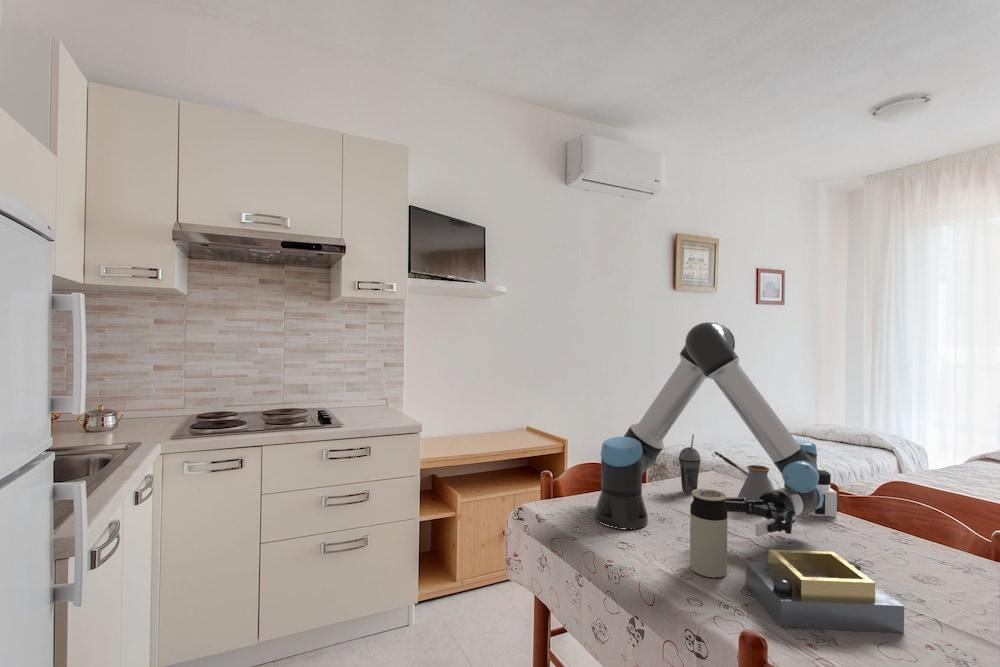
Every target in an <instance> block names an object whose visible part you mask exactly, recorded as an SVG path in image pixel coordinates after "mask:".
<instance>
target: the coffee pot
mask: <svg viewBox="0 0 1000 667" xmlns="http://www.w3.org/2000/svg"><path fill="white" fill-rule="evenodd" d="M714 454H715V455H714ZM716 456H718V457H719V458H720V459H722V460H723V461H724V462H726V463H727V464H729V465H731V466H732V467H734V468H735V469H737V470H739V471H740V472H741V473H743V474H744V475H746V476H747V477H746V478H745V481H744V483H743V485H742V487H741V489H740V491H739V493H738V494H737V495H738V496H737V497H743V496H746V497H748V500H758V499H759V498H760V496H761V495H762V494H764V493H767V492H770V491H774V488H773V485H772V483H771V481H770V478H769V477H768V474H769V472H770V468H769V467H767V466H765V465H764V466H763V465H757V464H754V465H753V464H750V465H747V466H746V468H747V470H748V471H746V470H744V469H743V468H741V467H739V465H737V464H736V463H735V462H733V461H732V460H731V459H729V458H727V457H726V456H724V455H723V454H721V453H719V452H718V451H714V452H713V453H712V457H716ZM749 509H750V510H749V511H751V506H749Z"/></svg>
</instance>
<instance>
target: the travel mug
mask: <svg viewBox="0 0 1000 667" xmlns="http://www.w3.org/2000/svg"><path fill="white" fill-rule="evenodd" d="M692 498H693V499H692V502H691V504H690V505H689V506H690V507H689V508H690V512H689V513H690V514H689V517H690V518H689V519H690V522H689V524H690V525H689V527H690V528H689V529H690V530H689V532H690V533H689V536H690V537H689V539H690V540H689V568H690V570H692V571H693V572H694V573H695V574H697V573H698V574H697V575H699V574H700V575H699V576H702V575H703V576H702V577H705V576H706V577H705V578H710V577H712V579H717V578H716V577H719V578H722V577H726V575H727V574H728V512H727V508H726V506H725V504H724V502H725V499H726V498H727V494H726V493H724V492H722V491H719V490H716V489H711V488H710V489H709V488H697V489H695V490H693V491H692Z"/></svg>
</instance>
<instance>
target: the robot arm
mask: <svg viewBox="0 0 1000 667" xmlns="http://www.w3.org/2000/svg"><path fill="white" fill-rule="evenodd" d="M735 346H736V340H735V336H734V334H733V332H732V331H731V330H730V329H729V328H727V327H726V326H725V325H724V324H721V323H718V322H701V323H698V324H696V325H694V326H693V327H692V328H691V329H690V330H689V331H688V332H687V335H686V337H685V344H684V346H683V348H682V350H681V351H680V352H679V357H680V358H679V359H680V362H679V363H678V364H677V366H676V368H675V369H674V371H673V372H672V373H671V375H670V376H669V378H668V379H667V380H666V382H665V384H664V385H663V387H662V389H661V390H660V391H659V393H658V394H657V396H656V397H655V399H654V400H653V401H652V403H651V405H650V406H649V407H648V409H647V410H646V411H645V413H644V415H643V416H642V418H641V419H640V420H639V422H638V423H633V424H631V425H630V426H629V428H628V429H627V431H626V432H625V434H624V435H623V436H615V437H610V438H607V439H605V440H604V441H603V442H602V445H601V450H600V458H601V459H600V462H601V464H600V467H601V469H600V475H601V477H600V484H601V485H600V486H601V487H600V488H601V489H600V494H599V497H598V500H597V504H596V506H595V511H594V519H595V518H596V519H597V520H598V521H599V522H601V523H603V524H606V525H609V526H613V527H617V528H626V529H631V528H632V529H633V530H635V529H634V528H639V529H642V528H641V527H643V528H645V527H646V526H647V525H648V524H649V518H648V517H649V516H648V512H647V508H646V505H645V503H644V502H645V501H644V499H643V498H644V497H643V495H642V494H643V492H642V490H643V481H642V480H643V474H644V473H646V472H647V471H648V470H649V469H651V468H652V467H653V466H654V465H655V463H656V462H657V461H656V460H657V457H658V456H659V455H660V453H661V452H662V450H663V449H664V447H665V445H664V441H663V440H664V439H665V437H666V436H667V435H668V433H669V431H670V430H671V429H672V428H673V426H674V424H675V423H676V422H677V420H678V419H679V417H681V416H680V415H682V413H683V411H684V410H685V408H686V407H687V406H688V404H689V403H690V402H691V400H692V398H693V397H694V396H695V395H696V393H697V392H698V390H699V389H700V388H701V386H702V384H703V383H704V382H705V380H706V378H707V379H711V380H713V382H714V383H715V384H716V386H717V387H718V388H719V389H720V390H721V393H722V395H724V397H725V398H726V399H727V401H728V402H729V403H730V405H731V406H732V408H734V410H735V411H736V413H737V414H738V416H739V417H740V419H741V420H742V421H743V423H744V424H745V425H746V426H747V428H748V429H749V431H750V432H751V434H752V435H753V436H754V438H755V439H756V440H757V442H758V443H759V444H760V446H761V447H762V448H763V450H764V451H765V453H767V456H768V457H769V458H770V460H771V461H772V462H773V464H774V465H775V467H776V468H777V469H778V471H779V473H780V474H781V476H782V480H783V481H784V482H783V484H784V485H783V486H784V487H781V488H778V489H775V490H774V489H773V490H774V491H770V492H767V493H764V494H762V495H761V496H760V498H759V499H758V500H748V497H746V496H743V497H738V496H737V497H736V496H733V497H731V496H729V497H726V499H725V502H724V504H725V506H726V508H727V513H728V512H729V513H730V512H732V513H745V514H746V515H748V516H757V517H761V518H765V519H766V520H763V521H760V522H756V523H755V536H756V537H758V538H759V537H762V536H766V535H768V534H770V533H771V534H772V533H775V532H778V533H781V532H782V531H783V532H785V534H787V535H791V534H792V529H793V524H794V523H796V517H800V516H801V515H802V516H803V515H805V514H807V513H810V512H812V511H815V510H816V509H818V508H819V507H821V505H822V504H823V500H824V497H823V494H822V492H821V490H820V488H819V487H818V486H817V484H818V481H819V473H818V470H817V469H818V464H817V462H818V458H817V457H818V453H817V451H818V450H817V445H816V443H814V442H812V441H809V440H802V439H795V437H793V435H792V433H791V432H790V431H789V430H788V428H787V427H786V425H785V424H784V423H783V421H782V420H781V419H780V418H779V416H778V415H777V413H776V412H775V411H774V409H773V408H772V407H771V405H770V404H769V403H768V401H767V400H766V399H765V397H764V396H763V395H762V394H761V392H760V390H758V388H757V387H756V386H755V384H754V383H753V381H752V380H751V379H750V377H749V376H748V375H747V373H746V372H745V371H744V370H743V368H742V367H741V365H740V364H739V362H740V358H739V356H738V355H737V353H736V352H735ZM749 506H751V510H749ZM784 521H785V522H784ZM647 523H648V524H647ZM645 525H646V526H645ZM644 526H645V527H644Z"/></svg>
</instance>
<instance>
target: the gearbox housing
mask: <svg viewBox="0 0 1000 667" xmlns="http://www.w3.org/2000/svg"><path fill="white" fill-rule="evenodd" d="M861 568H862V567H861V565H860V564H859V563H856V562H854V561H847V560H845V559H844V558H843V557H842V556H839V554H837V553H836V552H834V551H825V550H823V551H822V550H798V549H797V550H796V549H793V550H792V549H771V548H770V549H769V548H768V562H758V561H756V562H754V561H751V562H750V561H745V587H747V588H748V589H749V591H750V590H751V591H750V592H751V593H752V594H753V596H756V597H757V598H756V597H755V598H756V599H757V601H758V602H759V603H760V602H761V603H760V604H761V605H762V607H763V608H764V607H765V608H766V609H765V608H764V609H765V611H767V612H768V614H769V613H770V614H771V615H770V614H769V615H770V616H771V617H772V619H775V620H776V621H775V620H774V621H775V622H776V623H777V625H780V626H781V627H780V626H779V627H780V628H785V627H797V628H796V629H811V630H831V631H832V630H833V631H834V630H835V631H850V630H854V631H853V632H855V631H856V632H872V631H881V632H880V633H894V632H904V633H905V605H903V603H901V602H899V601H898V600H897V599H896V598H894V597H893V596H891V595H890V594H889V593H887V592H886V591H885V590H883V589H882V588H881V587H880V586H878V585H877V584H876V582H875V581H874V580H872V579H871V578H869V577H868V576H867V575H866V574H864V573H863V572H862V571H861V570H862V569H861ZM782 626H783V627H782Z"/></svg>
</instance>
